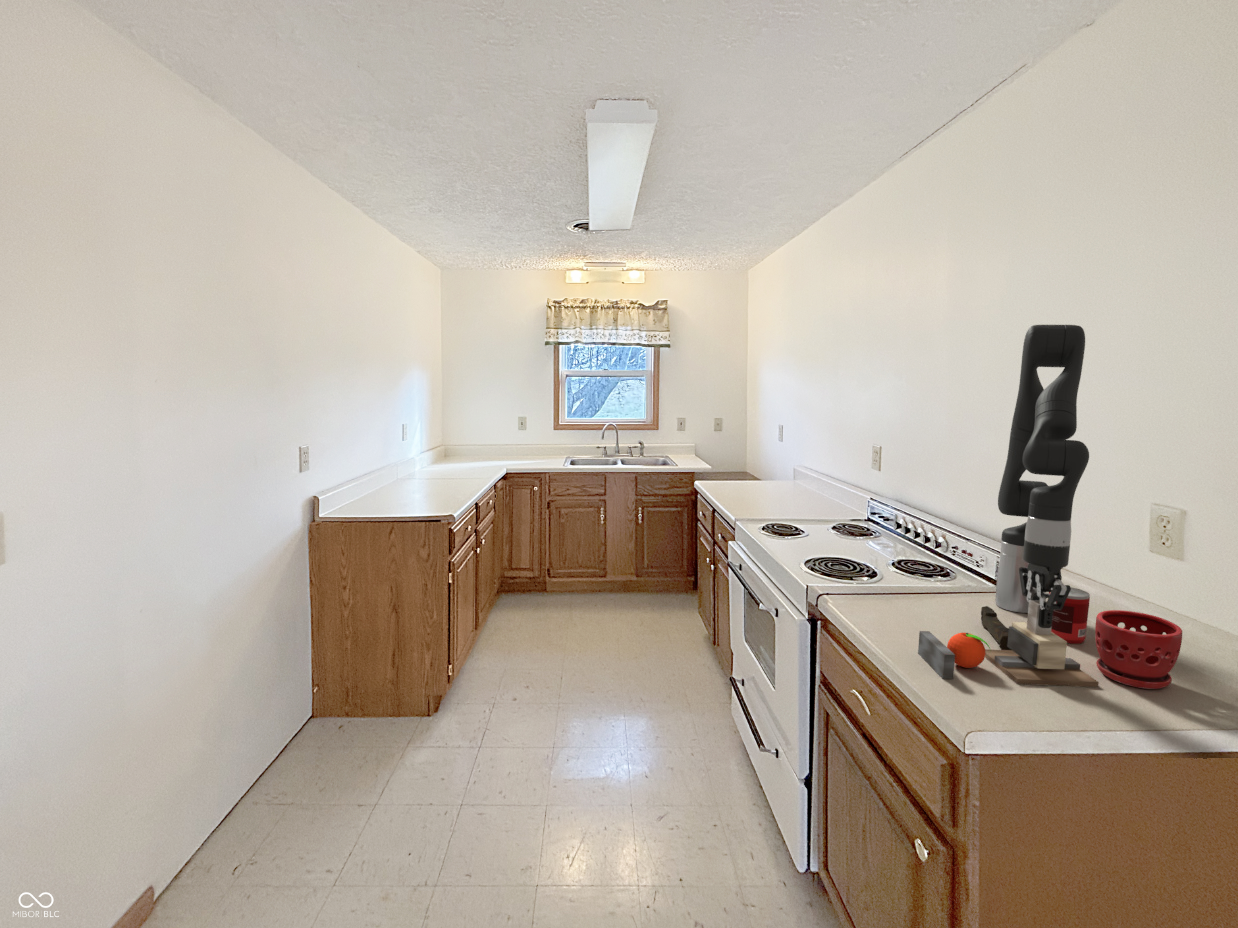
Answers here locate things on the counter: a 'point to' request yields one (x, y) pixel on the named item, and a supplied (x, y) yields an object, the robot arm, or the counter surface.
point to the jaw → (1037, 641)
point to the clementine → (967, 649)
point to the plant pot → (1137, 648)
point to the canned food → (1072, 617)
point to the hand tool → (995, 627)
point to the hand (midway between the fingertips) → (1039, 623)
